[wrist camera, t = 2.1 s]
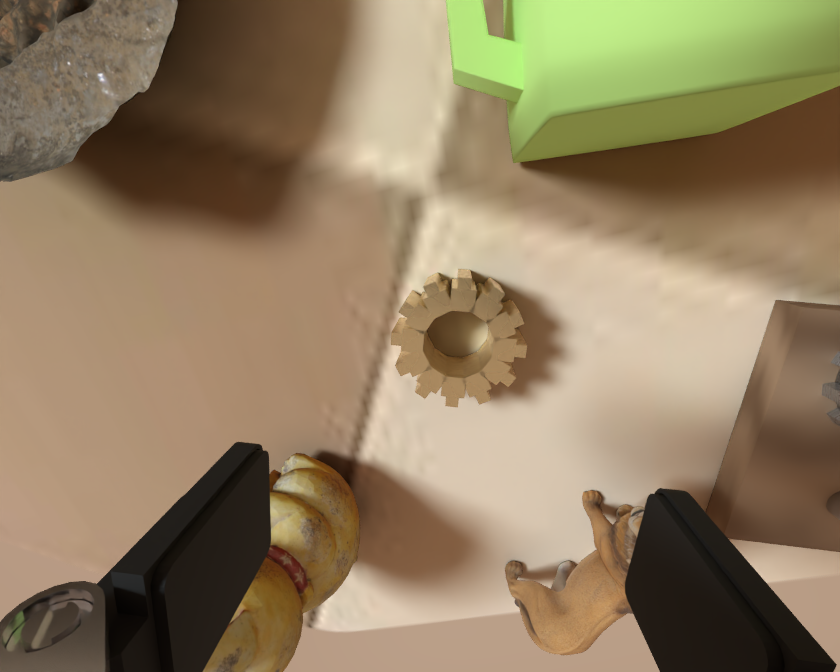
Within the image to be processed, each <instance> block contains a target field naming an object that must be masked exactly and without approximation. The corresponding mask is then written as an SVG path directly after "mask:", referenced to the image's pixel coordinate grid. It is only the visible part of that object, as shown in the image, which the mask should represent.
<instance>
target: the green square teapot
mask: <svg viewBox="0 0 840 672" xmlns="http://www.w3.org/2000/svg"><path fill="white" fill-rule="evenodd" d="M446 8H447V18H448V28H449V39H450V49H451V60H452V70H453V80H454V84H456V85H460V86H463V87H466V88H469V89H473V90H476V91H479V92H482V93H485V94H489V95H492V96H495V97H498V98H502V99H505V100H507V113H508V127H509V137H510V144H511V151H512V158H513V163H518V162H525V161H533V160H540V159H547V158H554V157H561V156H568V155H575V154H582V153H589V152H595V151H602V150H609V149H616V148H623V147H629V146H636V145H642V144H649V143H656V142H662V141H669V140H675V139H682V138H688V137H695V136H701V135H708V134H714V133H718V132H721V131H724V130H727V129H729V128H732V127H734V126H737V125H740V124H742V123H745V122H748V121H750V120H753V119H755V118H758V117H760V116H763V115H766V114H768V113H771V112H773V111H776V110H779V109H781V108H784V107H786V106H789V105H792V104H794V103H797V102H799V101H802V100H804V99H807V98H810V97H812V96H815V95H817V94H820V93H822V92H825V91H828V90H830V89H833V88H835V87H838V86H840V0H503V9H504V39H503V38H499V37H495V36H491V35H488V29H487V23H486V18H485V12H484V6H483V0H446Z"/></svg>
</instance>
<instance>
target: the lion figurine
mask: <svg viewBox="0 0 840 672" xmlns="http://www.w3.org/2000/svg"><path fill="white" fill-rule="evenodd" d="M582 500H583V506H584V509H585V511H586V512H587V515H588V516H589V518H590V521H591V525H592V528H593V534H594V543H595V546H596V548H597V550H595V551H594V552H592V553H591V554H589V555H588V556H587V557H585V558H584V559H583V560H582V561H581V562H580V563H579V564H578V565H577V566H576V565H575V564H573V563H572V562H571V561H565V562H563V563H561V564H560V565H559V567H558V570H557V574H556V576H555V579H554V582H553V585H552V587H551V589H549V588H548V587H546V586H544V585H542V584H540V583H537V582H535V581H525V580H517V578H518V577H519V576H520V575H521V573H522V571H523V570H522V567H521V564H520V563H518V562H516V561H511V562H509V563H508V564H507V565H506V568H505V572H506V579H507V582H508V587H509V590H510V593H511V595H512V596H513V597H514V598H515V604H516V605H517V606H518V607H519V608H520V612H521V615H522V619H523V622H524V624H525V627H526V629H527V631H528V633H529V635H530V637H531V638H532V640H533V641H534V643H536V645H537V646H538V647H539V648H541V649H542V650H544V651H546V652H549V653H552V654H560V655H570V654H578V653H582V652H584V651H586V650H587V649H588V648H589V647H590V646H591V645H592V644H593V642H594V641H595V640H596V639H597V638H598V637H599V635H600V634H601V633H602V632H603V631H604V630H606V629H607V628H608V627H609V626H610V625H611V624H612V623H614V622H615V621H616V620H618V619H619V618H621V617H623V616H624V615H626V614H627V613H633V612H632V609H631V607H630V605H629V603H628V601H627V598H626V594H625V580H626V576H627V573H628V569H629V565H630V561H631V558H632V554H633V550H634V547H635V543H636V539H637V535H638V532H639V528H640V524H641V521H642V517H643V513H644V510H645V508H643V507H640V506H638V507H635V508H634V509H633V508H632V507H631V506H629V505H626V504H625V505H622V506H620V507H619V508H618V510H617V512H616V517H617V521H616V522H615V523H614V524H613V525H612V524H611V523H610V522H609V521H608V520H607V519H606V517H605V516H604V515H603V513H602V509H601V507H600V503H601V500H602V499H601V496H600V495H599V494H598V492H597V491H586V492H583V496H582ZM566 581H567V582H566Z"/></svg>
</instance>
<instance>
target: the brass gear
mask: <svg viewBox="0 0 840 672" xmlns="http://www.w3.org/2000/svg"><path fill="white" fill-rule="evenodd" d="M424 290H425V292H426V293H424V292H423V293H422V294H421V296H420V295H419V294H417V293H416V292H414V291H413V290H412V292H411V293H410V295H409V296H408V298H407V299H406V301H405V302H404V304H403V306H402V307H401V309H400V311H399V313H401V314H402V315H404V316H405V317H407V318H399V320H398V322H397V324H396V325H395V327H394V329H393V331H392V333H391V345H398V346H401V353H400V355H399V358H398V360H397V363H396V365H395V366H396V368H397V370H398V372H399V374H400V376H402V375H405V374H407V373H409V372H410V373H411V375H412V377H414V376H416V375H418V377H417V386H416V390H415V392H416V393H417V394H419V395H420V396H422V397H423V398H426V397H427V396H428V394H429V393H430V392H431V391H432V392H433V393H435V394H436V393H437V391H438V390H439V389H440V387H441V386H442V390H441V396H446V405H445V406H450V407H458V400H459V398H464V396H465V388H466V390H467V392H468V394H469V397H473V396H476V399H477V401H478V403H479V404H482V403H484V402H487V401H489V400H491V398H490V393H489V390H490V389H492V388H491V383H490V381H491V382H492V383H493V384H495V385H497V384H498V383H499V382H501V383H503V384H504V385H506V386H507V387H509V386H510V385H511V384H512V383H513V381H514V380H515V379H516V375H515V373H514V370H513V367H512V364H511V362H514V357H519V358H526V352H527V344H526V342H525V340H524V339H523V337H522V335H521V333H520V331H519V329H516V327H519V326H521V325H523V324H524V321H523V319H522V316H521V314H520V312H519V310H518V309H517V307H516V306H515V304H514V303H513V301H512V299H511V300H508V301H506V302H504V303H502V301H501V299H502V298H503V297H504V295H505V293H504V292H503V290H502V288H501V287H500V285H499V283H497V282H496V281H494V280H493V279H491V278H490V277H489V278H488V280H487V281H486V282H485V284H484V285H483V284H481V283H480V282H479V283H478V284H477V286H475V282H474V280H472V276H471V272H470V270H465V269H458V278H457V279H454V278H452V287H450V285H449V283H448V280H444V281H442V280H441V278H440V275H439V273H436V274H434V275H432V276H430V277H428V278H427V280H426V282H425V284H424ZM450 311H461V312H471V313H473V314H474V315H476V316H477V317H479V318H480V319H481V320H483V321H484V322H486V323H487V325H488V327H489V330H488V338H487V340H486V342H485V343H484V344H483V345H482V347H481V348H480V349H479V350H478V352H475V353H473V354H471V355H468V356H466V357H463V358H461V357H451V356H446V355H445V354H443V353H442V352H440V351H439V350H437V349H436V348H434V346H433V344H432V342H431V340H430V338H429V336H428V334H427V330H428V327H429V326H430V325H431V323H432V322H433V320H434V319H435V318H437V317H439V316H441V315H444V314H446V313H448V312H450Z"/></svg>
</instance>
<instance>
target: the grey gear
mask: <svg viewBox="0 0 840 672" xmlns="http://www.w3.org/2000/svg"><path fill="white" fill-rule="evenodd" d="M831 363H833V364H835V365H838V366H840V352H838V353H837V354H836V356H835V357H834V359H833V360H832V361H831ZM822 395H823V396H825V397H827V398H829V399H831V400H833V401H835V402H836V405H837V407H838V408H835V409H834V410H832V411H830V412H828V413H826V414H827V415H828V417H829V418H830V419H831V421H832V422H833V423H835V424H836V425H838V426H840V370H839V372H838V374H837V377H836V380H835V382H831V383H823V384H822Z"/></svg>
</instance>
